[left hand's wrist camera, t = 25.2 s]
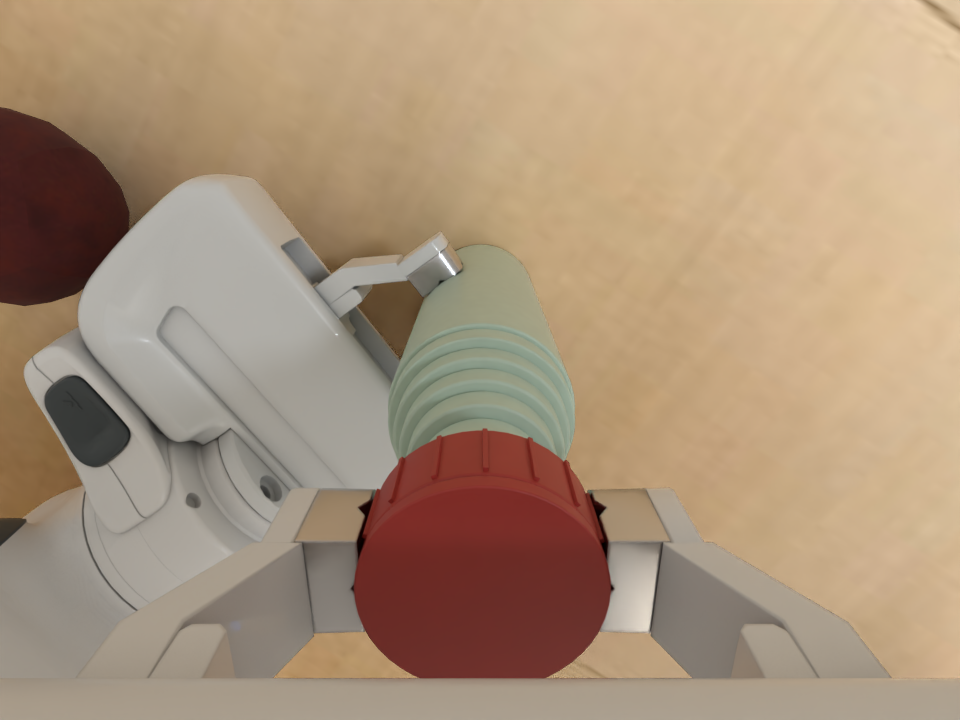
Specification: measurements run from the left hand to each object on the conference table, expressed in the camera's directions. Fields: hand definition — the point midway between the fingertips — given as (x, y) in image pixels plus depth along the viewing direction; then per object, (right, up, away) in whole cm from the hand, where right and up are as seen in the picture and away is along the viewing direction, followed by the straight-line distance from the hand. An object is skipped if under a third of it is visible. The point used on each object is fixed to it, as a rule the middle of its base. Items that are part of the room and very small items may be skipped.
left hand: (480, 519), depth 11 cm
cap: (0, -1, -2) cm, 2 cm away
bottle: (0, +6, +16) cm, 17 cm away
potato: (-18, +10, +15) cm, 25 cm away
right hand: (+1, +5, +11) cm, 12 cm away
